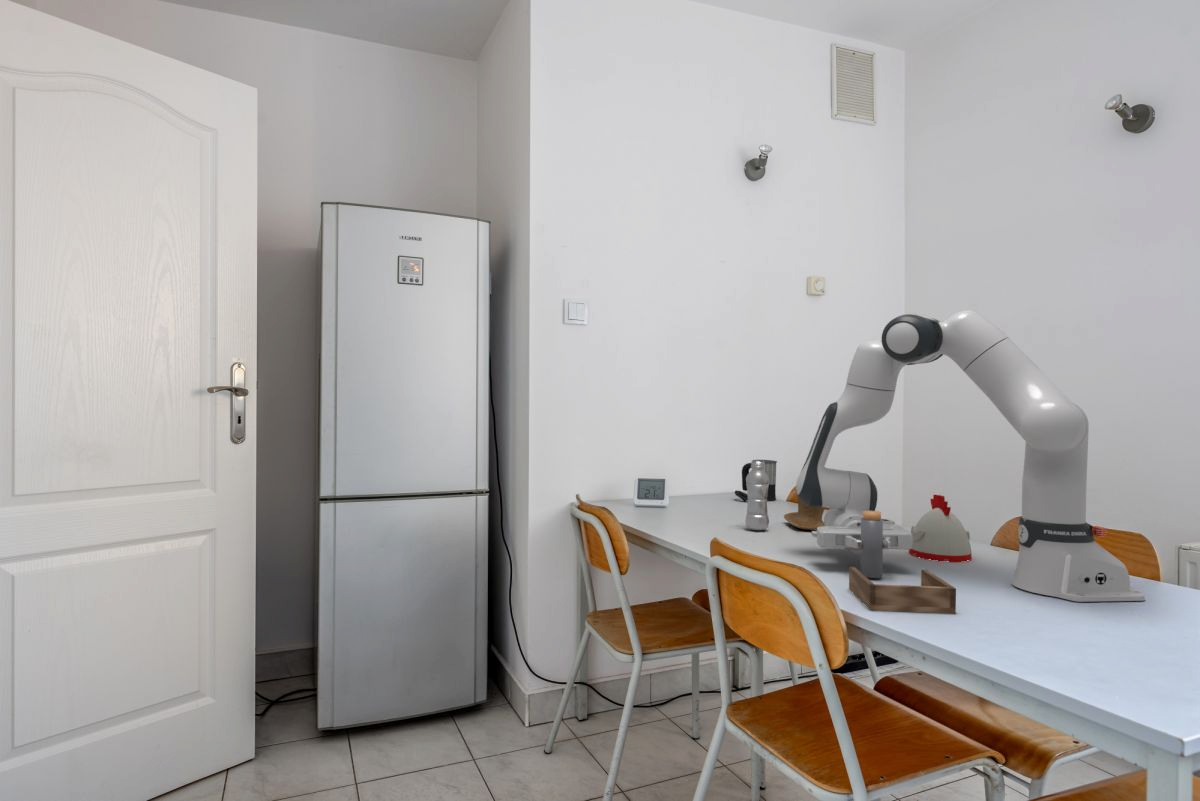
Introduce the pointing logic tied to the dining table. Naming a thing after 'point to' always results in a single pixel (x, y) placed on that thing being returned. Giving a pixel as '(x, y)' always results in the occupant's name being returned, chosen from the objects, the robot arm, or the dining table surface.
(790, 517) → the brown flared piece
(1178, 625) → the dining table surface
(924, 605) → the box
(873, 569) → the grey bottle with cap
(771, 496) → the milk frother
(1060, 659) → the dining table surface
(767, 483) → the plastic bottle
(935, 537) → the kitchen timer
